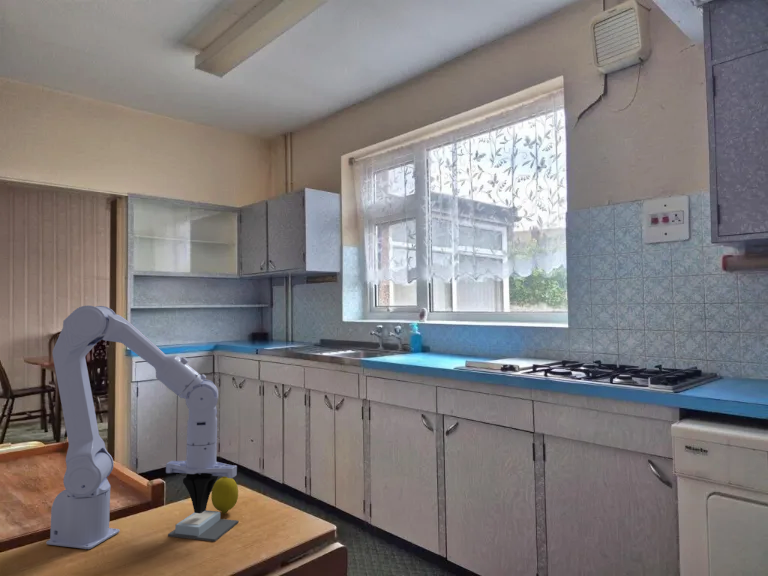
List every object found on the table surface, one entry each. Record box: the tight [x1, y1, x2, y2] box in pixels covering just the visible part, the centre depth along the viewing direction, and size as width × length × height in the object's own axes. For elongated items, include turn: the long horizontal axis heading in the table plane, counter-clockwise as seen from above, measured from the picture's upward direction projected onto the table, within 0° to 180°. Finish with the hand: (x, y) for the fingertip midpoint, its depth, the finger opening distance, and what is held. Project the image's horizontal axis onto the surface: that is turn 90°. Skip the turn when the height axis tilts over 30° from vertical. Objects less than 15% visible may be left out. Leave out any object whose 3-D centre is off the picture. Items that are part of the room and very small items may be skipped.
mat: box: [167, 518, 239, 542], centre depth 103 cm, size 10×9×1 cm
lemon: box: [210, 476, 239, 514], centre depth 111 cm, size 6×6×8 cm
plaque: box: [174, 509, 221, 536], centre depth 103 cm, size 2×8×5 cm
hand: (200, 511), depth 103 cm, fingers closed
